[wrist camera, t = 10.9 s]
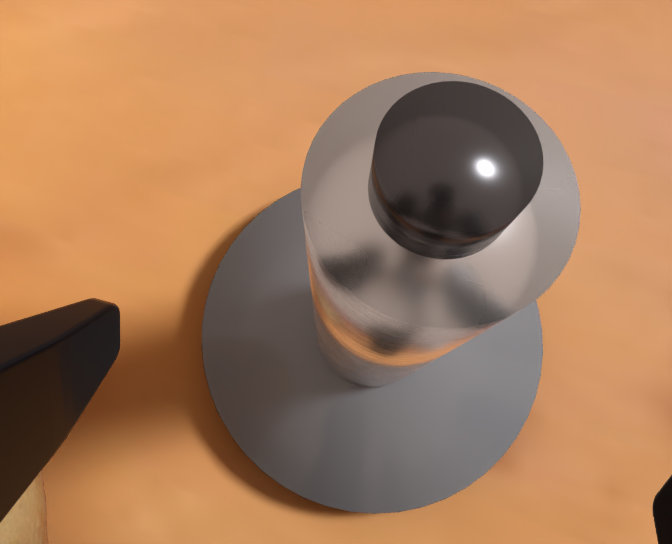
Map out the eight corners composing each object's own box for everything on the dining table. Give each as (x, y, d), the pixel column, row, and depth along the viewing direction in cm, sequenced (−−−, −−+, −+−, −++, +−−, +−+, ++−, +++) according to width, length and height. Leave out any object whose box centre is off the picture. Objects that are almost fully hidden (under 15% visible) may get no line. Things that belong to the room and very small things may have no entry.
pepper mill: (322, 393, 20) (315, 331, 6) (310, 282, 21) (282, 33, 8) (437, 379, 20) (663, 291, 7) (418, 270, 22) (574, 8, 8)
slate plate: (216, 530, 20) (210, 537, 18) (201, 201, 24) (194, 189, 22) (566, 484, 20) (580, 487, 19) (494, 172, 24) (503, 159, 23)
